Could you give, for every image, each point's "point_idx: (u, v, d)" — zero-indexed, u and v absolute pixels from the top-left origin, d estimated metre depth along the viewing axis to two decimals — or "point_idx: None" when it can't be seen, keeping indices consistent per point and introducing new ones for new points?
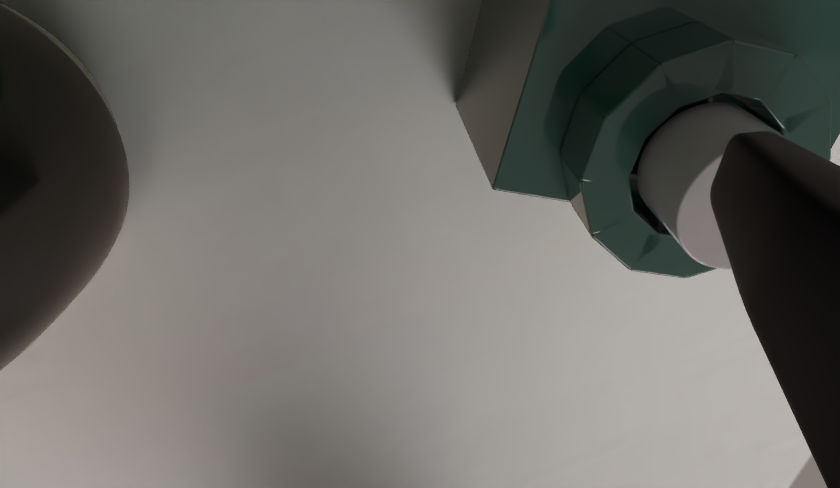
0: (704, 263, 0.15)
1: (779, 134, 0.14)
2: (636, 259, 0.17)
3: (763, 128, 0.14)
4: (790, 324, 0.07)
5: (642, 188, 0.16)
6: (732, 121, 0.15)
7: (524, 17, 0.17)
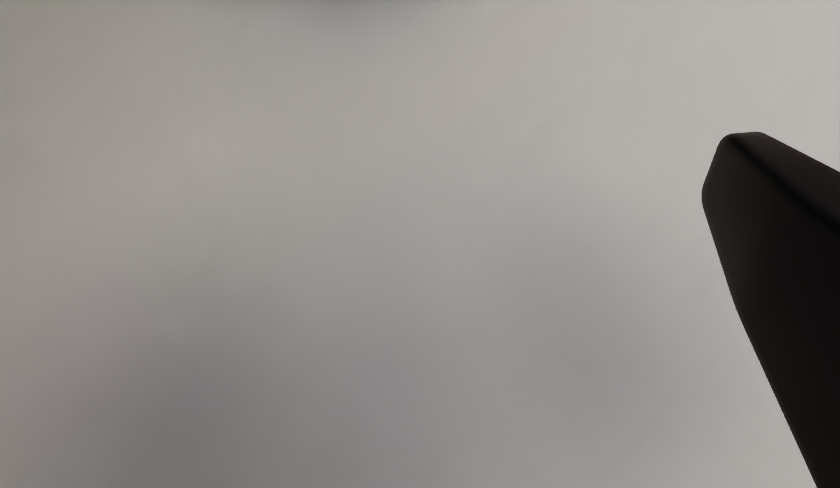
0: None
1: None
2: None
3: None
4: (780, 325, 0.07)
5: None
6: None
7: None
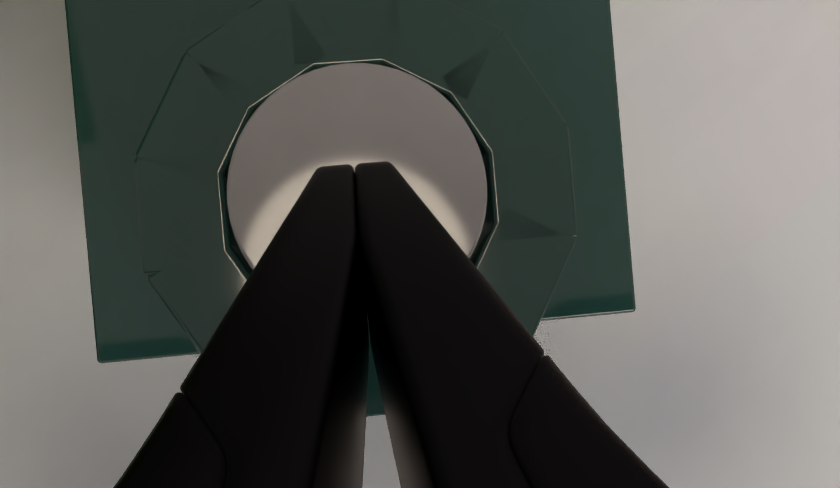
0: None
1: None
2: None
3: None
4: (378, 365, 0.07)
5: None
6: None
7: None
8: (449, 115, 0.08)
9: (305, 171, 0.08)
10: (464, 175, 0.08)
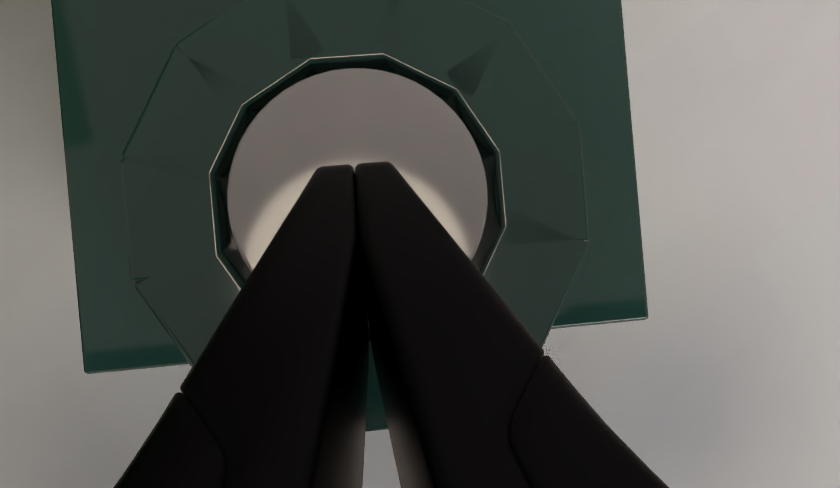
0: None
1: None
2: None
3: None
4: (378, 365, 0.07)
5: None
6: None
7: None
8: (449, 120, 0.08)
9: (305, 175, 0.08)
10: (464, 180, 0.08)
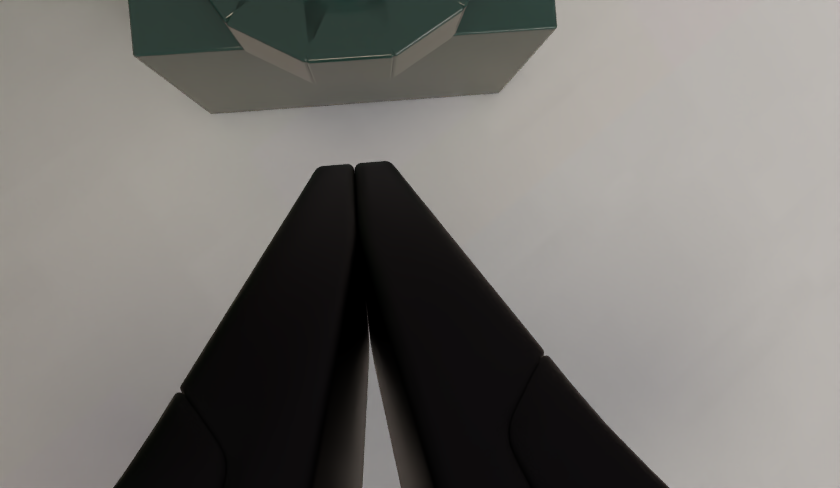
0: None
1: None
2: (306, 43, 0.12)
3: None
4: (378, 365, 0.07)
5: None
6: None
7: None
8: None
9: None
10: None
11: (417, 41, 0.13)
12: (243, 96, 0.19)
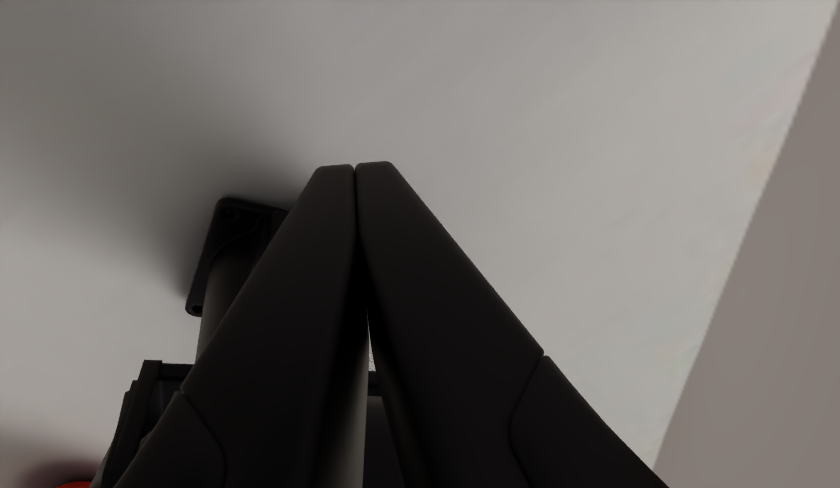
0: None
1: None
2: None
3: None
4: (378, 365, 0.07)
5: None
6: None
7: None
8: None
9: None
10: None
11: None
12: None
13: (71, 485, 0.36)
